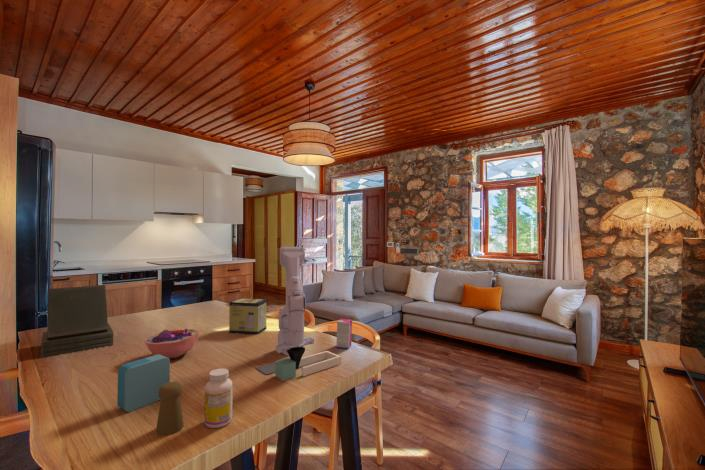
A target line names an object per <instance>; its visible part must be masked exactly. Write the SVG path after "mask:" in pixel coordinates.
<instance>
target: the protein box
mask: <svg viewBox="0 0 705 470" xmlns="http://www.w3.org/2000/svg"><path fill="white" fill-rule="evenodd" d="M228 309H229V312H228V313H229V316H228V317H229V318H228V320H229V321H228V322H229V325H228V333H229V334H236V333H238V334H239V335H255V334H258V335H259V334H261V333H263V332H264V331H265V330H267V299H265V298H264V299H262V298H261V299H260V298H237V299H234V300H232V301H229V308H228Z"/></svg>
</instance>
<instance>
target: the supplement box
mask: <svg viewBox="0 0 705 470" xmlns="http://www.w3.org/2000/svg"><path fill="white" fill-rule="evenodd" d="M352 332H353V319H348V318H347V319H346V318H339V320H337V321H336V343H335V344H336V345H335V346H336V347H335V348H336V349H343V350H349V349H350V347H352V338H353V337H352V335H353V334H352Z"/></svg>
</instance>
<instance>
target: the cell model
mask: <svg viewBox="0 0 705 470" xmlns="http://www.w3.org/2000/svg"><path fill="white" fill-rule="evenodd" d="M198 340H199V331H198V330H196V329H193V328H191V329H188V328H185V329H175V330H174V329H173V330H169V329H163V330H162V331H160V332H157V333H155V334H153V335H150V336H148V337H146V338H145V339H144V340H143V343H144V345H145V347H146V348H147V349H148V351H150V353H152V356H154V355H162V356H165V357H167V358H169V359H170V360H172V359H176V358H178V357H180V356H183V355H184V354H186V353H188V352H189V351H191V350H192V349H193V348H194V347H195V345H196V344H197V341H198Z"/></svg>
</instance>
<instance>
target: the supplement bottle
mask: <svg viewBox="0 0 705 470" xmlns="http://www.w3.org/2000/svg"><path fill="white" fill-rule="evenodd" d="M229 372H230V371H229V369H228V368H223V367H222V368H216V369H213V370H211V371H210V372H209V373H208V374H209V375H208V379H209V381H207V383H206V384H205V386H204V425H205V426H206V427H207V428H210V429H218V428H222V427H224V426H227V425H228V424H230V422H232V419H233V392H234V391H233V390H234V389H233V381H232V380H231V378H229V375H230V374H229Z"/></svg>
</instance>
